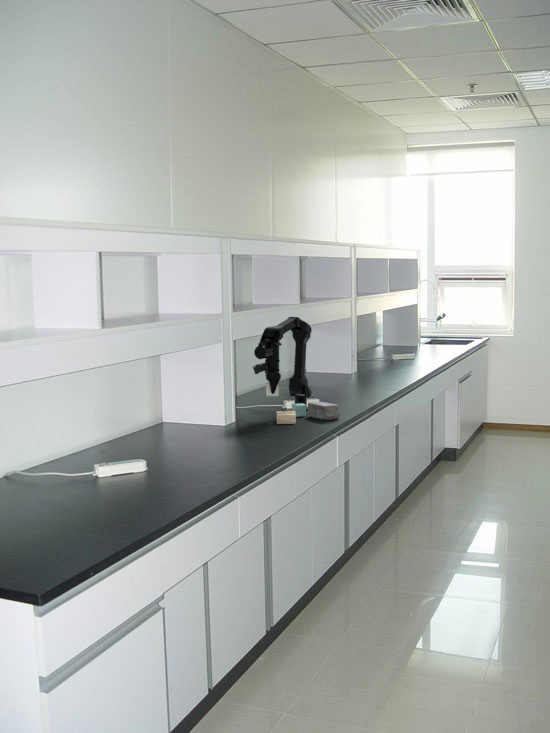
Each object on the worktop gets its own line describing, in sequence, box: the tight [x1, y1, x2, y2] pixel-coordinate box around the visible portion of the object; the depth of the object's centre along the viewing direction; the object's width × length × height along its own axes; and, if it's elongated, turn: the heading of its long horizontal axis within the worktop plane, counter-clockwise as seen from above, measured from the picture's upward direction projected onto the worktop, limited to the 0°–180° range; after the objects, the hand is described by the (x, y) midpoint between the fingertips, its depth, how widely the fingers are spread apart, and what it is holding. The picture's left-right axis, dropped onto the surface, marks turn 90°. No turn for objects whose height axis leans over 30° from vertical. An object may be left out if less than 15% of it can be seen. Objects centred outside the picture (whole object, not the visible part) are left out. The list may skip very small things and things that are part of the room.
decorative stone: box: [307, 401, 340, 421], centre depth 353 cm, size 15×7×10 cm
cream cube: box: [265, 382, 280, 397], centre depth 350 cm, size 5×5×5 cm
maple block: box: [276, 410, 297, 425], centre depth 345 cm, size 8×8×4 cm
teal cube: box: [291, 403, 307, 418], centre depth 359 cm, size 5×5×5 cm
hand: (272, 392), depth 350 cm, fingers closed on cream cube, 5 cm apart
